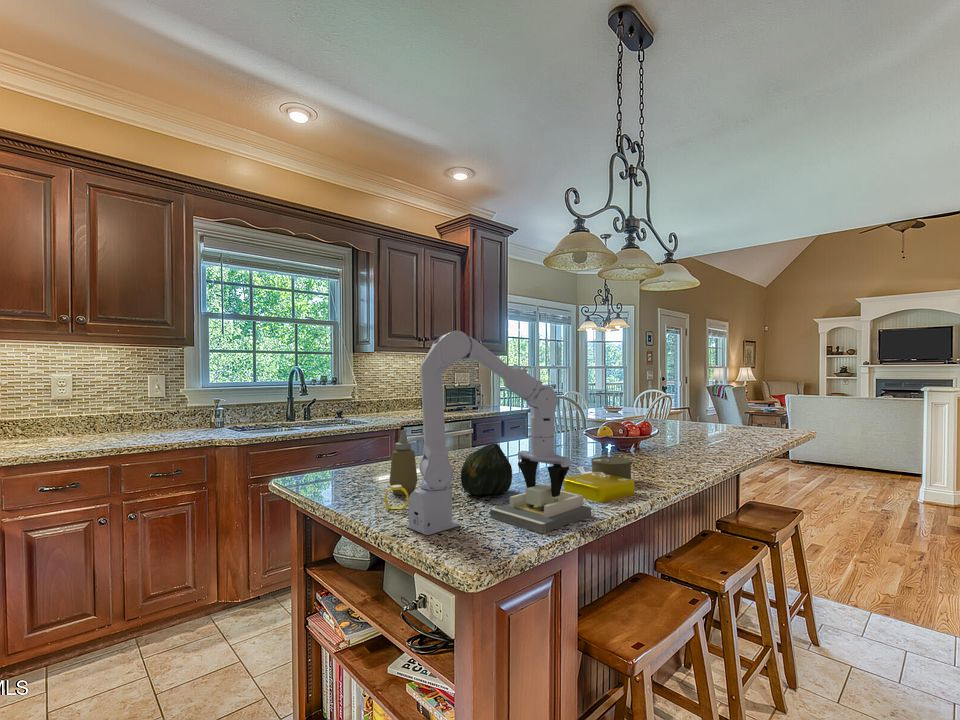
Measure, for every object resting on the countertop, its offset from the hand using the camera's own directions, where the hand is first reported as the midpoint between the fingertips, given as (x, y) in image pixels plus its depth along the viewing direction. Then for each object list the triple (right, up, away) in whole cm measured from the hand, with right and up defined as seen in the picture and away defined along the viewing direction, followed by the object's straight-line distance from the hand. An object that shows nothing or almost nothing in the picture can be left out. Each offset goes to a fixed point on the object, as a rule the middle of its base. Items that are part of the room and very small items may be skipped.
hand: (543, 493), depth 113 cm
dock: (-1, -5, -1) cm, 5 cm away
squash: (-13, -6, +22) cm, 26 cm away
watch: (-36, -6, +7) cm, 38 cm away
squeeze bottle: (-37, -7, +23) cm, 44 cm away
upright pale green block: (0, -3, 0) cm, 3 cm away
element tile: (+18, -6, +20) cm, 28 cm away
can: (+26, -6, +34) cm, 43 cm away
